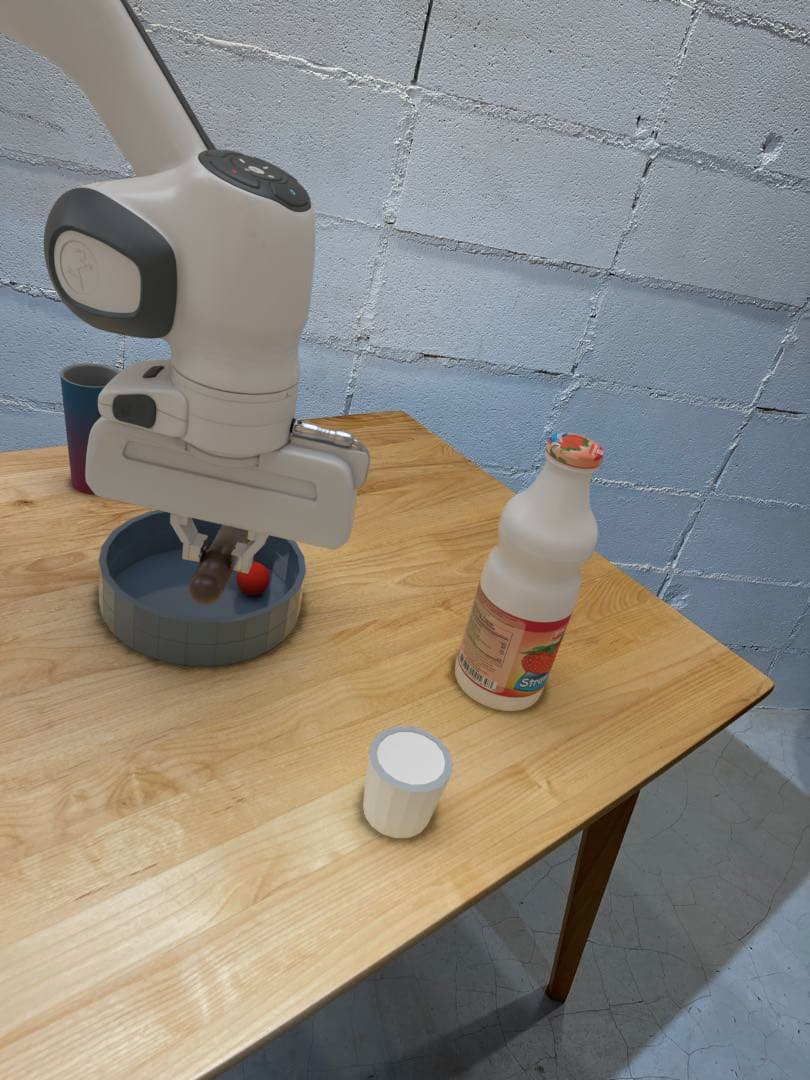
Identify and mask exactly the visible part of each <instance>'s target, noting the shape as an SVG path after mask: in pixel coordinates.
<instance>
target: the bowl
mask: <svg viewBox="0 0 810 1080" xmlns="http://www.w3.org/2000/svg"><path fill="white" fill-rule="evenodd" d="M170 514H171V513H169V512H164V511H160V510H156V509H153V510H149V511H147V512H144V513H142V514H139V515H137V516H134V517H132V518H129V519H127V520H126V521H125V522H123V523H122V524H121V525H119V526H117V527H116V528H115V529H114V530H112V531H111V532H110V534H109V535H108V536H107V538H106V539H105V541H104V542H103V543H102V545H101V547H100V553H99V556H98V604H99V609H100V613H101V617H102V620H103V622H104V623H105V625H106V626H107V628H108V630H110V632H111V633H112V634H113V635H114V637H116V638H117V639H118V640H119V641H120V642H122V643H123V644H124V645H126V646H127V647H129V648H130V649H132V650H134V651H136V652H138V653H140V654H142V655H144V656H146V657H149V658H152V659H155V660H158V661H161V662H166V663H170V664H175V665H182V666H191V667H215V666H216V667H217V666H226V665H231V664H236V663H240V662H244V661H247V660H251V659H254V658H257V657H260V656H261V655H263V654H266V653H268V652H270V651H271V650H272V649H275V648H276V647H277V646H279V645H280V644H281V643H283V642H284V640H286V638H288V636H289V635H290V634H291V632H292V631H293V630H294V628H295V627H296V624H297V623H298V620H299V619H298V618H299V616H300V614H301V613H300V612H301V607H302V602H303V601H302V600H303V594H304V589H305V582H306V574H307V568H306V561H305V555H304V554H303V552H302V550H301V549H300V547H299V545H298V542H297V541H292V540H288V539H283V538H279V537H275V536H270V535H269V536H268V538H267V540H266V542H265V544H264V545H263V546H262V547H261V548H260V549H259V550H258V551H257V552H256V553H255V554H254V557H253V562H257V563H260V564H262V565H264V566H265V567H266V569H267V570H268V572H269V575H270V582H269V585H268V587H267V589H266V590H265V591H264V592H262V593H261V594H258V595H248V594H245V593H243V592H242V591H241V590H240V589H239V587H238V586H237V583H236V575H237V572H238V571H233V573H232V575H231V577H230V579H229V581H228V583H227V585H226V587H225V589H224V591H223V593H222V595H221V597H220V598H219V599H218V600H217V601H216V602H215V603H213V604H209V605H202V604H199V603H197V602H195V601H194V600H193V599H192V598H191V596H190V593H189V583H190V581H191V579H192V577H193V575H194V574H195V572H196V570H197V568H198V567H199V565H200V563H198V562H193V561H189V560H185V559H183V558H182V554H183V543H182V542H181V540H180V539H179V537H178V535H177V534H176V532H175V530H174V529H173V527H172V525H171V523H170ZM192 520H193V522H194V524H195V527H196V529H197V531H198V533H200V534H204V535H208V542H207V544H206V546H207V551H208V549H209V547H210V546H211V544H212V542H213V540H214V539H215V537H216V535H217V533H218V532H219V530H220V528H221V526H222V524H217V523H213V522H208V521H204V520H200V519H195V518H192ZM207 551H206V553H207ZM202 560H203V559H202Z"/></svg>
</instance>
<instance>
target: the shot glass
mask: <svg viewBox="0 0 810 1080" xmlns="http://www.w3.org/2000/svg"><path fill="white" fill-rule="evenodd" d="M453 766H454V761H453V758H452V755H451V751H450V749H449V748H448V747H447V746H446V745H445V744H444V742H443V741H442V740H441V738H439V737H437V736H436V735H434V734H432V733H431V732H430V731H428V730H425V729H422V728H419V727H415V726H412V725H396V726H393V727H390V728H387V729H384V730H382V731H380V732H379V733H378V734H377V735H376V736H375V737H374V738H373V739H372V741H371V744H370V747H369V750H368V755H367V763H366V773H365V781H364V793H363V801H362V807H363V813H364V817H365V819H366V820H367V822H368V823H369V825H370V826H371V827H372V828H373V829H375V830H376V831H377V832H379V833H380V834H382V835H384V836H387V837H390V838H394V839H410V838H412V837H415V836H417V835H420V834H421V833H422V832H423V830H424V829H426V827H427V826H428V825H429V822H430V821H431V819H432V816H433V814H434V812H435V810H436V808H437V806H438V803H439V801H441V800H440V799H441V798H442V795H443V793H444V791H445V789H446V787H447V784H448V783H449V780H450V779H451V776H452V771H453Z"/></svg>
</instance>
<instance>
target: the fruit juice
mask: <svg viewBox="0 0 810 1080" xmlns="http://www.w3.org/2000/svg"><path fill="white" fill-rule="evenodd" d="M544 457H545V461H544V463H543V466H542V468H541V470H540V472H539V473H538V475H536V477H535V479H534V480H533V481H532V482H531V484H530V485H529V486H527V487H526V488H524V489H523V490H521V491H519V492H517V494H515V495H513V497H511V498H510V499H508V501H507V503H506V504H505V505H504V507H503V509H502V511H501V514H500V517H499V519H498V525H497V543H496V544H495V546H493V547H492V549H491V550H490V552H489V553H488V556H487V558H486V560H485V563H484V566H483V568H482V571H481V574H480V578H479V582H478V585H477V588H476V592H475V596H474V598H473V602H472V605H471V608H470V612H469V615H468V619H467V623H466V625H465V630H464V633H463V635H462V639H461V642H460V645H459V650H458V653H457V656H456V660H455V664H454V677H455V679H456V682H457V684H458V685H459V687H460V688H461V690H462V691H463V692H464V693H465V694H466V695H467V696H468V697H470V699H472V700H474V701H475V702H477V703H479V704H480V705H483V706H484V707H487V708H490V709H493V710H497V711H502V712H503V711H504V712H517V711H522V710H526V709H529V708H530V707H532V706H534V705H535V704H536V702H537V701H538V700H539V699H540V698H541V695H542V693H543V692H544V690H545V687H546V683H547V682H548V678H549V676H550V673H551V670H552V668H553V665H554V663H555V660H556V658H557V655H558V652H559V650H560V647H561V644H562V641H563V639H564V637H565V633H566V631H567V629H568V625H569V623H570V620H571V617H572V615H573V613H574V610H575V608H576V605H577V603H578V599H579V596H580V593H581V588H582V582H583V577H582V575H583V574H582V570H583V568H584V567H585V566H586V564H588V562H589V561H590V560H591V557H592V556H593V555H594V553H595V550H596V547H597V544H598V539H599V526H598V523H597V519H596V517H595V515H594V512H593V510H592V507H591V484H592V478H593V475H594V474H595V473H596V472H598V470H599V469H600V467H601V465H602V462H603V458H604V450H603V447H602V446H601V445H600V444H599V443H597V442H596V441H594V440H593V439H591V438H589V437H587V436H583V435H580V434H577V433H574V432H564V431H563V432H556V433H553V434H551V436H550V437H549V438H548V441H547V443H546V445H545V450H544Z"/></svg>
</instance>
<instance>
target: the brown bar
mask: <svg viewBox="0 0 810 1080" xmlns="http://www.w3.org/2000/svg"><path fill="white" fill-rule="evenodd" d="M247 538H248V530H244V529H239V528H235V527H230V526H226V525H222V526H221V528H220V530H219V532H218V533H217V535H216V537H215V539H214V540H213V542H212V544H211V546H210V547H209V549H208V551H207V553H206V554H205V556H204V558H203V560H202V561H201V563H200V565H199V567H198V568H197V570H196V572H195V574H194V575H193V577H192V579H191V581H190V583H189V593H190V596H191V598H192V599H193V600H194V601H195V602H197V603H199V604H202V605H209V604H213V603H215V602H216V601H217V600H218V599H219V598H220V597H221V595H222V593H223V591H224V589H225V587H226V585H227V583H228V581H229V579H230V577H231V575H232V573H233V571H234V570H230V564H231V561H230V560H231V553H232V551H233V549H235V545H236V544H237V542H239V543H244V544H247V543H248V542H249V541H250V540H248V539H247Z"/></svg>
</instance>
